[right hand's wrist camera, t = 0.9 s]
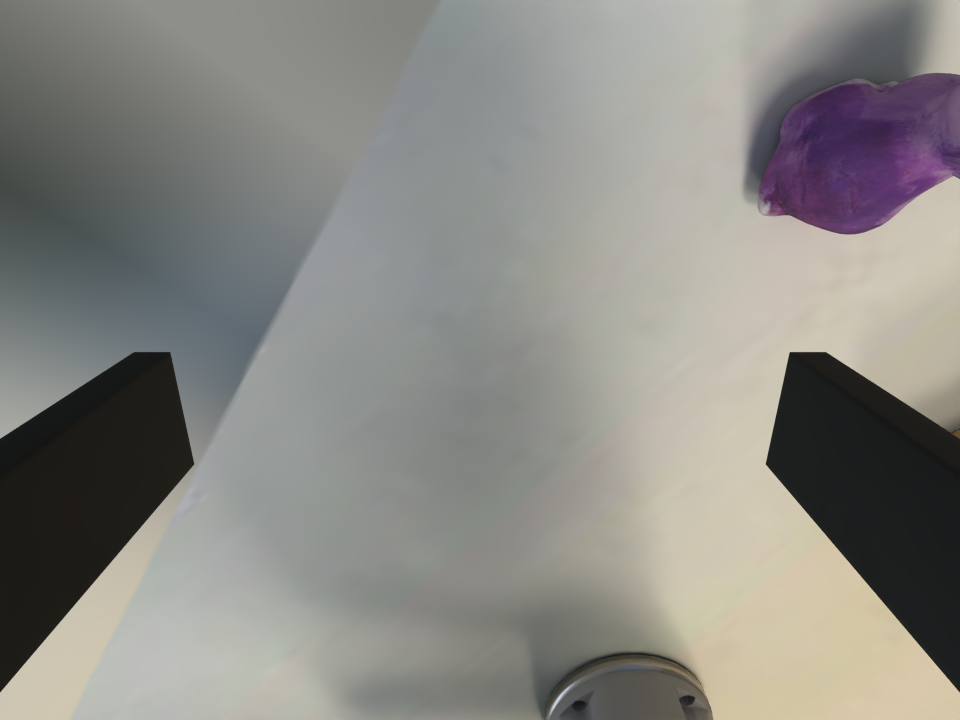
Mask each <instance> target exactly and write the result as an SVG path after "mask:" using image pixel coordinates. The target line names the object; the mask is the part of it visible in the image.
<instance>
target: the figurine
mask: <svg viewBox="0 0 960 720" xmlns="http://www.w3.org/2000/svg"><path fill="white" fill-rule="evenodd" d="M952 176H955V177H957V178H959V179H960V75H956V74H948V73H931V74H924V75H920V76H916V77H912V78H909V79H907V80H904V81H902V82H900V83H899V82H896V81H892V82H886V83H881V84H877V85H876V84H874V83H872V82H871V81H868V80H866V79H859V78H855V79H851V80H848V81H845V82H842V83H839V84H836V85H833V86H830V87H829V88H827V89H824V90H822V91H819V92H817V93H814V94H813V95H811V96H809V97H807V98H805V99H803V100H801V101H800V102H798V103H797V104H795V105H793V107H792V108H791V109H790V110H789V111H788V113H787V114H786V115H785V116H784V119H783V122H782V125H781V129H780V140H779V143H778V146H777V149H776V150H775V152H774V153H773V155H772V157H771V159H770V161H769V163H768V166H767V168H766V171H765V174H764V176H763V179H762V181H761V184H760V187H759V190H758V198H757V200H758V209H759V212H760V213H761V214H762V215H766V216H781V215H790V216H793V217H795V218H797V219H799V220H801V221H803V222H805V223H807V224H810V225H813V226H816V227H819V228H821V229H824V230H828V231H831V232H835V233H839V234H859V233H863V232H866V231H869V230H871V229H874V228H876V227H879V226H881V225H883V224H884V223H886V222H887V221H888V220H890V219H891V218H892V217H893V216H895V215H896V214H897V213H898V212H899V211H900V210H902V209H903V208H904V207H905V206H906V205H907V204H908V203H910V202H911V201H912V200H914V199H915V198H916V197H918V196H919V195H920V194H922V193H923V192H925V191H927V190H928V189H930V188H932V187H934V186H935V185H937V184H939V183H941V182H943V181H945V180H947V179H948V178H950V177H952Z"/></svg>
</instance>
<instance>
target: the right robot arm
mask: <svg viewBox="0 0 960 720" xmlns="http://www.w3.org/2000/svg"><path fill="white" fill-rule="evenodd" d="M193 465H194V461H193V456H192V452H191V447H190V442H189V438H188V433H187V428H186V424H185V419H184V414H183V410H182V405H181V400H180V396H179V391H178V386H177V382H176V377H175V372H174V368H173V363H172V358H171V354H170V352H134V353H132V354H131V355H129V356H128V357H126V358H124V359H123V360H121V361H120V362H118V363H117V364H115V365H114V366H112V367H111V368H109V369H107V370H106V371H104V372H103V373H101V374H100V375H98V376H97V377H95V378H94V379H92V380H90V381H89V382H87V383H86V384H84V385H83V386H81V387H80V388H78V389H77V390H75V391H73V392H72V393H70V394H69V395H67V396H66V397H64V398H63V399H61V400H60V401H58V402H56V403H55V404H53V405H52V406H50V407H49V408H47V409H46V410H44V411H43V412H41V413H39V414H38V415H36V416H35V417H33V418H32V419H30V420H29V421H27V422H26V423H24V424H22V425H21V426H19V427H18V428H16V429H15V430H13V431H12V432H10V433H9V434H7V435H5V436H4V437H2V438H1V439H0V692H1V691H2V690H3V688H4V687H5V686H6V685H7V684H8V682H9V681H10V680H11V679H12V678H13V677H14V675H15V674H16V673H17V672H18V671H19V670H20V668H21V667H22V666H23V665H24V664H25V663H26V661H27V660H28V659H29V658H30V657H31V655H32V654H33V653H34V652H35V651H36V650H37V648H38V647H39V646H40V645H41V644H42V643H43V641H44V640H45V639H46V638H47V637H48V636H49V634H50V633H51V632H52V631H53V630H54V628H55V627H56V626H57V625H58V624H59V623H60V621H61V620H62V619H63V618H64V617H65V616H66V614H67V613H68V612H69V611H70V610H71V608H72V607H73V606H74V605H75V604H76V603H77V601H78V600H79V599H80V598H81V597H82V596H83V594H84V593H85V592H86V591H87V590H88V589H89V587H90V586H91V585H92V584H93V583H94V581H95V580H96V579H97V578H98V577H99V576H100V574H101V573H102V572H103V571H104V570H105V569H106V567H107V566H108V565H109V564H110V563H111V561H112V560H113V559H114V558H115V557H116V556H117V554H118V553H119V552H120V551H121V550H122V549H123V547H124V546H125V545H126V544H127V543H128V542H129V540H130V539H131V538H132V537H133V536H134V534H135V533H136V532H137V531H138V530H139V529H140V527H141V526H142V525H143V524H144V523H145V521H146V520H147V519H148V518H149V517H150V516H151V514H152V513H153V512H154V511H155V510H156V509H157V507H158V506H159V505H160V504H161V503H162V501H163V500H164V499H165V498H166V497H167V496H168V494H169V493H170V492H171V491H172V490H173V489H174V487H175V486H176V485H177V484H178V483H179V482H180V480H181V479H182V478H183V477H184V476H185V474H186V473H187V472H188V471H189V470H190V469H191V467H192V466H193ZM766 465H767V466H768V467H769V469H770V470H771V471H772V472H773V473H774V475H775V476H776V477H777V478H778V479H779V480H780V482H781V483H782V484H783V485H784V486H785V487H786V489H787V490H788V491H789V492H790V493H791V494H792V496H793V497H794V498H795V499H796V500H797V502H798V503H799V504H800V505H801V506H802V507H803V509H804V510H805V511H806V512H807V513H808V514H809V516H810V517H811V518H812V519H813V520H814V522H815V523H816V524H817V525H818V526H819V527H820V529H821V530H822V531H823V532H824V533H825V534H826V536H827V537H828V538H829V539H830V540H831V542H832V543H833V544H834V545H835V546H836V547H837V549H838V550H839V551H840V552H841V553H842V554H843V556H844V557H845V558H846V559H847V560H848V561H849V563H850V564H851V565H852V566H853V567H854V569H855V570H856V571H857V572H858V573H859V574H860V576H861V577H862V578H863V579H864V580H865V581H866V583H867V584H868V585H869V586H870V587H871V589H872V590H873V591H874V592H875V593H876V594H877V596H878V597H879V598H880V599H881V600H882V601H883V603H884V604H885V605H886V606H887V607H888V608H889V610H890V611H891V612H892V613H893V614H894V616H895V617H896V618H897V619H898V620H899V621H900V623H901V624H902V625H903V626H904V627H905V628H906V630H907V631H908V632H909V633H910V634H911V636H912V637H913V638H914V639H915V640H916V641H917V643H918V644H919V645H920V646H921V647H922V648H923V650H924V651H925V652H926V653H927V654H928V656H929V657H930V658H931V659H932V660H933V661H934V663H935V664H936V665H937V666H938V667H939V668H940V670H941V671H942V672H943V673H944V674H945V675H946V677H947V678H948V679H949V680H950V681H951V683H952V684H953V685H954V686H955V687H956V688H957V690H958V691H959V692H960V439H959V438H958V437H956V436H955V435H953V434H951V433H950V432H948V431H947V430H945V429H944V428H942V427H941V426H939V425H938V424H936V423H934V422H933V421H931V420H930V419H928V418H927V417H925V416H924V415H922V414H921V413H919V412H917V411H916V410H914V409H913V408H911V407H910V406H908V405H907V404H905V403H904V402H902V401H900V400H899V399H897V398H896V397H894V396H893V395H891V394H890V393H888V392H887V391H885V390H883V389H882V388H880V387H879V386H877V385H876V384H874V383H873V382H871V381H870V380H868V379H866V378H865V377H863V376H862V375H860V374H859V373H857V372H856V371H854V370H853V369H851V368H849V367H848V366H846V365H845V364H843V363H842V362H840V361H839V360H837V359H836V358H834V357H832V356H831V355H829V354H828V353H826V352H790V354H789V358H788V363H787V368H786V372H785V377H784V382H783V386H782V391H781V396H780V400H779V405H778V410H777V414H776V419H775V424H774V428H773V433H772V438H771V442H770V447H769V452H768V456H767V461H766ZM545 720H713V717H712V711H711V707H710V705H709V702H708V700H707V697H706V695H705V692H704V690H703V688H702V686H701V684H700V683H699V681H698V680H697V679H696V678H695V677H694V676H693V675H692V674H691V673H690V672H689V671H688V670H686V669H685V668H683V667H682V666H680V665H678V664H676V663H674V662H671V661H669V660H666V659H662V658H659V657H654V656H647V655H619V656H613V657H608V658H604V659H600V660H597V661H594V662H592V663H589V664H587V665H585V666H583V667H581V668H579V669H577V670H575V671H574V672H572V673H571V674H570V675H568V676H567V677H566V678H565V679H563V680H562V681H561V682H560V683H559V684H558V686H557V687H556V688H555V689H554V691H553V692H552V694H551V696H550V698H549V700H548V703H547V706H546V711H545Z"/></svg>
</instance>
